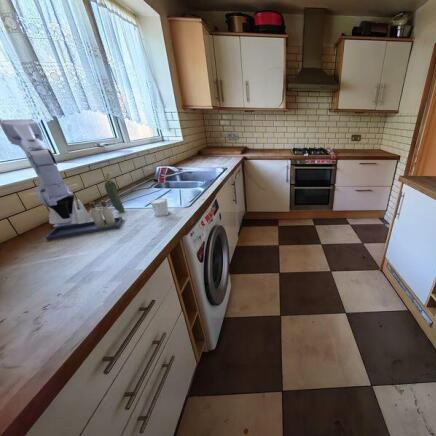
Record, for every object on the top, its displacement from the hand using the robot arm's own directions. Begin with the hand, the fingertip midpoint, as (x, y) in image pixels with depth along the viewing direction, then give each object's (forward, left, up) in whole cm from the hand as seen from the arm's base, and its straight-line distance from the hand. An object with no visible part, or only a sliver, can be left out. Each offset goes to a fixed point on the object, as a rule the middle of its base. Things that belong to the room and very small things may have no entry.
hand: (68, 216), depth 91 cm
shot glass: (-5, +32, -8) cm, 33 cm away
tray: (0, +4, -8) cm, 9 cm away
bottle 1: (0, +9, -7) cm, 11 cm away
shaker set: (0, 0, -4) cm, 4 cm away
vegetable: (-16, +13, -8) cm, 22 cm away
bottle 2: (0, +12, -7) cm, 14 cm away
